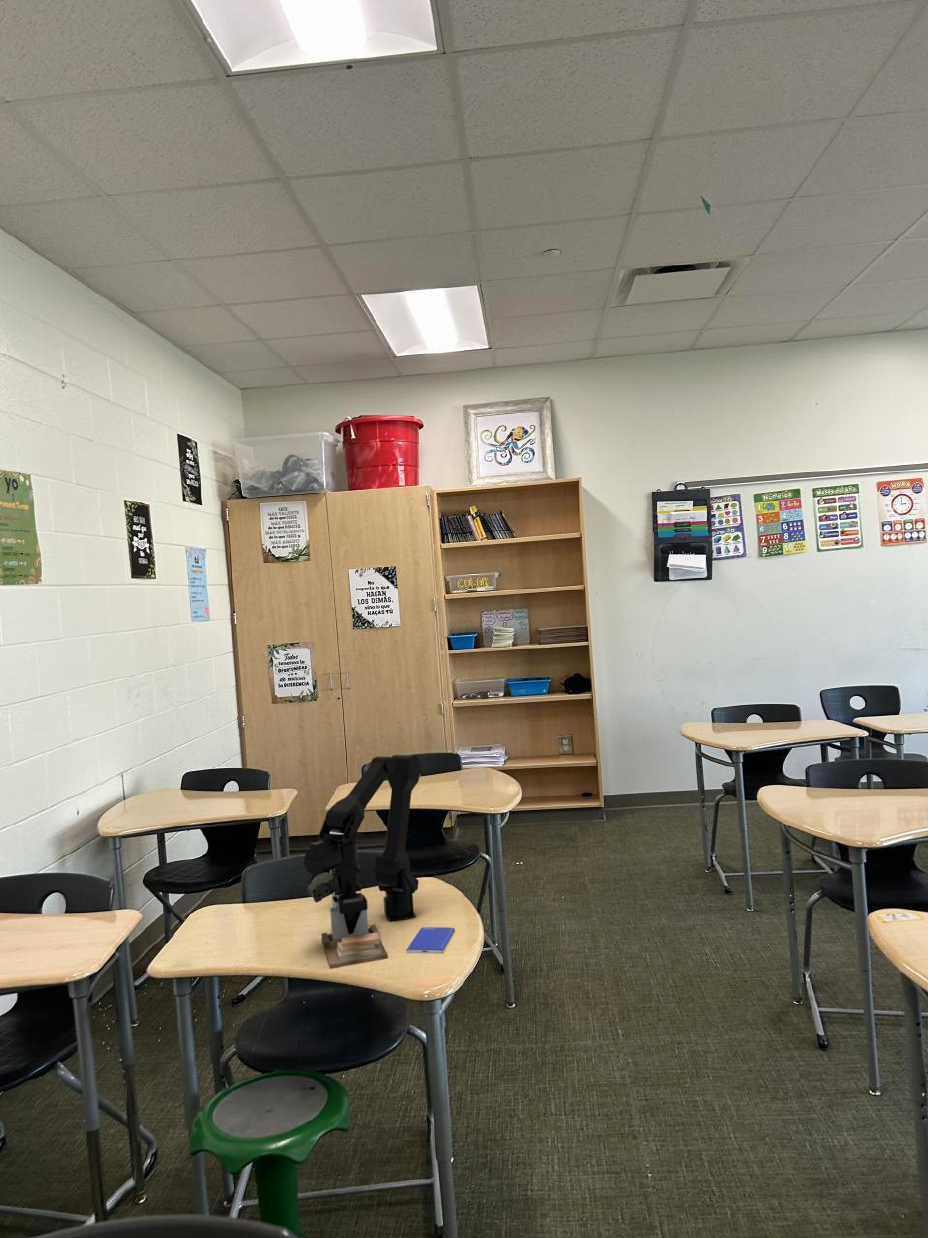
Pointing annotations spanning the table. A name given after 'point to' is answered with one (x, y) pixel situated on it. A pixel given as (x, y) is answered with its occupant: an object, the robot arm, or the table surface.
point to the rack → (333, 959)
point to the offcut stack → (358, 946)
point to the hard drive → (431, 940)
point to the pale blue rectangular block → (341, 929)
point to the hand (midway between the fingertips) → (350, 931)
